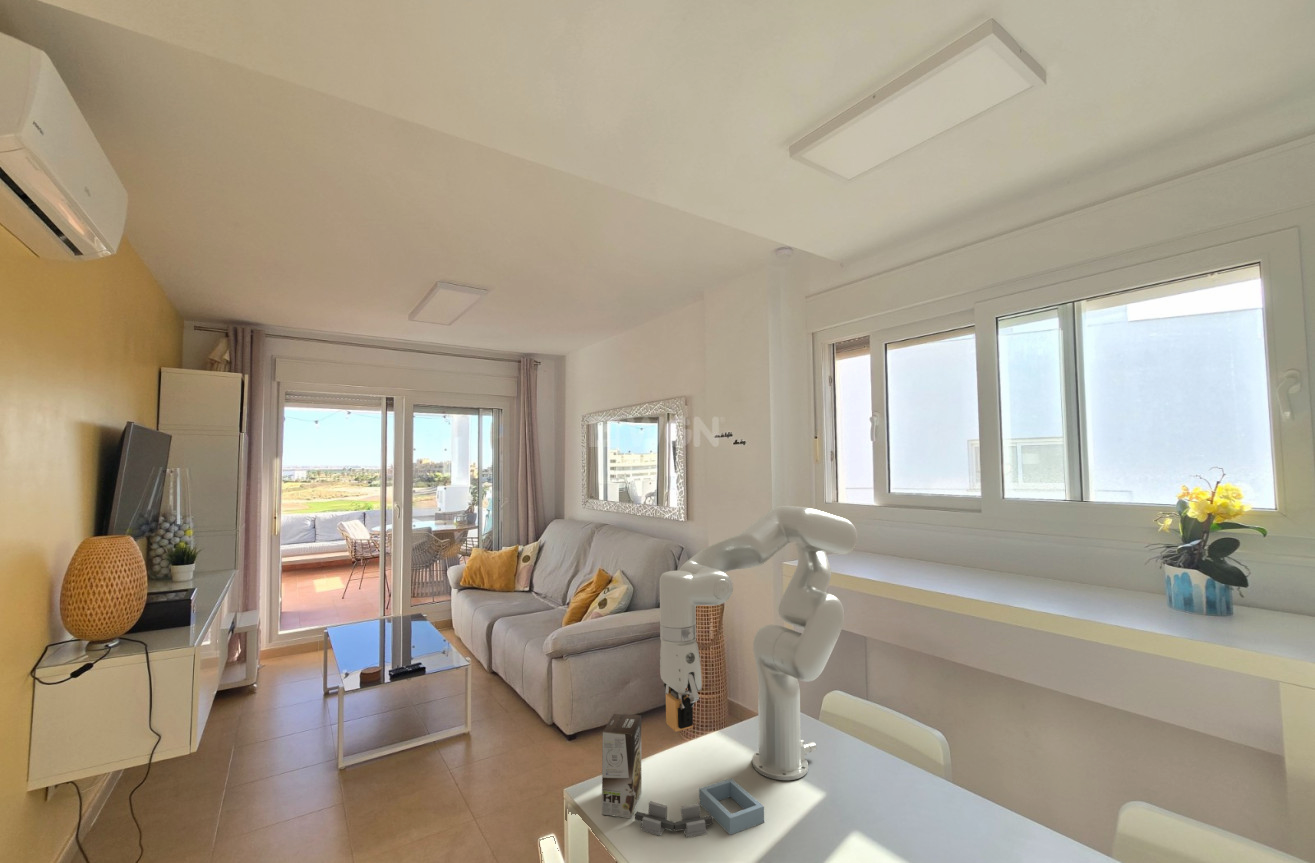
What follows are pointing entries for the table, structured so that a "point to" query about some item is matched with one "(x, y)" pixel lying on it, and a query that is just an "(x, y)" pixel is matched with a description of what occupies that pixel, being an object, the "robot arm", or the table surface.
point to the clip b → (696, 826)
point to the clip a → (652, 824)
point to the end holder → (728, 821)
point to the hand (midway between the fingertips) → (679, 721)
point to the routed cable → (673, 825)
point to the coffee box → (621, 765)
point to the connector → (673, 710)
